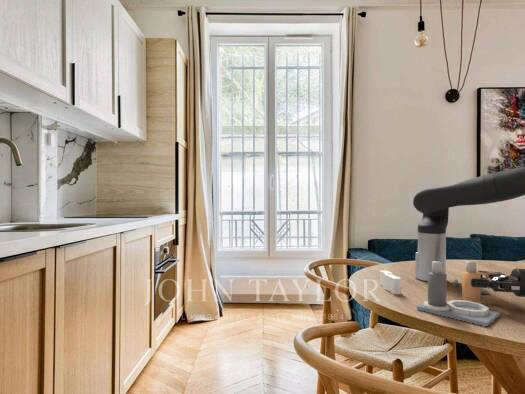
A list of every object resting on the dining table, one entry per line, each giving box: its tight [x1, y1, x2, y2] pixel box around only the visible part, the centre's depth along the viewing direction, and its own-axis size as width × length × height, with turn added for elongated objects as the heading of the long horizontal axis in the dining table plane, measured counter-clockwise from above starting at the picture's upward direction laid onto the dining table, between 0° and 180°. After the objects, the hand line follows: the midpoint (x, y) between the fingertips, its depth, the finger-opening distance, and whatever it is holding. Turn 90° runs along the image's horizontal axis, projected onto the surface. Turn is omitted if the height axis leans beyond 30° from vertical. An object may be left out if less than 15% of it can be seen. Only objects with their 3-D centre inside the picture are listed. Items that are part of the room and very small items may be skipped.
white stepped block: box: [379, 270, 402, 295], centre depth 111 cm, size 15×11×6 cm
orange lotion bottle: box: [461, 260, 482, 304], centre depth 95 cm, size 4×4×12 cm
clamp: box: [452, 279, 489, 295], centre depth 110 cm, size 15×2×10 cm
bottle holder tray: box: [416, 261, 501, 327], centre depth 87 cm, size 16×11×13 cm
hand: (466, 278), depth 95 cm, fingers open, 8 cm apart
